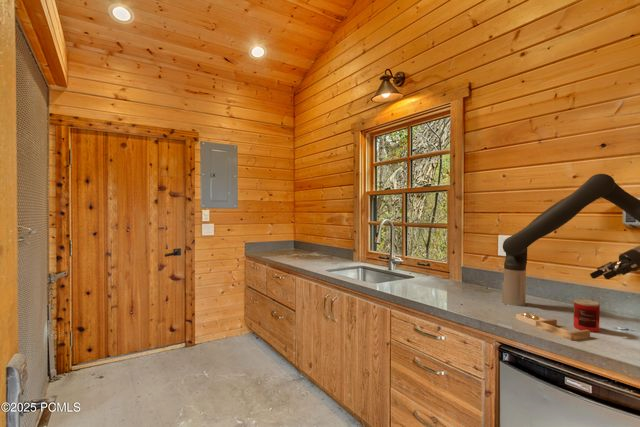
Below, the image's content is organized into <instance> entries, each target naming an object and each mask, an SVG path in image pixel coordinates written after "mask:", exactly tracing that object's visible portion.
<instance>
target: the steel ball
mask: <svg viewBox="0 0 640 427" xmlns="http://www.w3.org/2000/svg"><path fill="white" fill-rule="evenodd" d="M531 315H532V314H531ZM531 315H530V313H529V312H528V311H527V312H524V313H523V316H525V317H527V318H530V319H531Z"/></svg>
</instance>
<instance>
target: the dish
mask: <svg viewBox="0 0 640 427" xmlns="http://www.w3.org/2000/svg"><path fill="white" fill-rule="evenodd" d="M529 314H530V313H529ZM530 315H531V317H532V316H533V314H530ZM538 317H539V316H538ZM515 319H516V320H519V321H521V322H524V323H527V324H530V325H533V326H535V327H536V321H541V320H547V319H545V318H542V317H539V319H540V320H533V319H530V318H527V317H525V316H523V313H516V314H515Z"/></svg>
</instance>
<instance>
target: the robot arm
mask: <svg viewBox="0 0 640 427" xmlns="http://www.w3.org/2000/svg"><path fill="white" fill-rule="evenodd" d="M599 199H604V200H606V201H608V202H609V203H612V204H613V205H615V206H616V207H618V208H620V209H621V210H622V211H624V212H625V213H626V214H627V215H629V216H630V217H632V218H633V219H634V220H636V222H638V223H640V199H639V198H637V197H635V196H633V195H632V194H630V193H628V192H627V191H626V190H624V189H623V188H622V187H621V186H620V185H618V184H617V183H616V181H615V179H614V178H613V177H612V176H611V175H610V174H606V173H598V174H596V173H595V174H593V175H592V176H590V177H589V178H587V180H586V181H585V182H584V183H583V184H582V185H580V187H578V188H577V189H576V190H575V191H573V193H571V194H569V195H568V196H566V197H564V198H562V199H560V200H558V202H556V203H554V204H553V205H551V206H550V207H549V208H547V209H545V211H543V212H541V214H539V215H537V216H536V218H534V219H533V220H532V221H531V222H530V223H529V224H528V225H526V226H525V227H523V228H522V229H521V230H519V231H517V232H515V233H514V234H513V235H511V236H509V237H507V238H506V239H504V241H503V243H502V249H503V252H504V253H505V260H504V263H503V264H504V265H503V282H502V283H501V303H503V304H504V305H508V306H515V307H524V306H526V305H527V304H526V301H527V299H526V298H527V297H526V296H527V294H526V292H527V290H526V289H527V263H528V248H529V247H530V246H531V245H532V244H534V243H535V242H536V241H538V240H539V239H541V238H544V237H545V236H548V235H549V234H551V233H553V232H554V231H557V230H558V229H559V228H561V227H563V226H564V225H565V224H567V223H569V222H570V221H571V220H572V219H573V218H574V217H576V216H577V215H578V214H579V213H580V212H582V210H583V209H585V208H586V207H587V206H589V205H590V204H592V203H593V202H595V201H597V200H599ZM596 269H597V270H595V271H593V272H590V273H589V275H590V277H591V278H592V279H596V278H599V277H601V276H602V277H604V279H606V280H610V279H612V278H615V277H616V276H621V275H622V276H624V275H626V274H629V273H631V272H638V271H640V245H637V246H635V247H633V248H630V249H629V250H627V251H625V252H622V253H620V254H619V255H618V261H617V260H615V261H609V262H608V263H606V264H603V265H601V266H599V267H596Z"/></svg>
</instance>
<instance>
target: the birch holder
mask: <svg viewBox="0 0 640 427" xmlns="http://www.w3.org/2000/svg"><path fill="white" fill-rule="evenodd" d="M557 324H558V319H556V318H550V319H549V318H548V319H546V320H541V321H536V326H535V327H536V328H537V329H539V330H542V331H545V332H547V333H550V334H553V335H555V336H558V337H561V338H563V339H566V340H568V341H576V340H583V339H589V338H591V332H590V330H574V331H573V330H572V331H569V330H566V329H563V328H560V327H557V326H558V325H557Z"/></svg>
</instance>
